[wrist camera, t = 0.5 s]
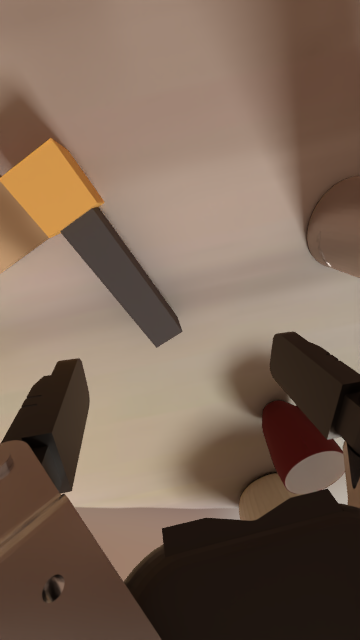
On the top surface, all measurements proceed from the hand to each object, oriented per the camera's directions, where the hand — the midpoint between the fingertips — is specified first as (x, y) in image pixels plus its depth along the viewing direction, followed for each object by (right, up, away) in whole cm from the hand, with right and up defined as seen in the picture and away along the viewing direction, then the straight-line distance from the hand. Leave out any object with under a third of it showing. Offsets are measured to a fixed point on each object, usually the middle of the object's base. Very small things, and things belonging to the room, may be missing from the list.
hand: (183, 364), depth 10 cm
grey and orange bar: (-6, +8, +15) cm, 18 cm away
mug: (+15, -11, +27) cm, 33 cm away
